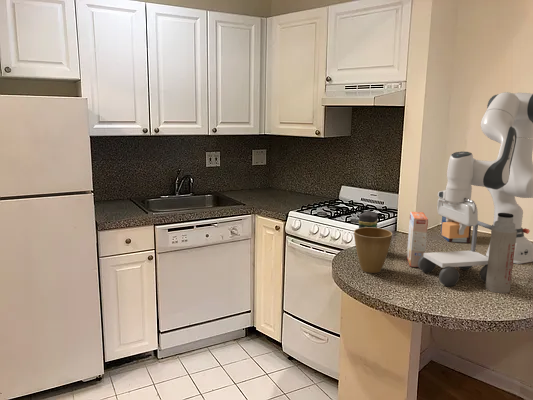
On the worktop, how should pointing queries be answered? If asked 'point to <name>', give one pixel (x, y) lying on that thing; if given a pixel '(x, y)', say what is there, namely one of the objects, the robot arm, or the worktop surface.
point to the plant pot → (372, 247)
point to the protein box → (461, 240)
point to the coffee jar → (368, 219)
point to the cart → (456, 261)
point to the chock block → (453, 230)
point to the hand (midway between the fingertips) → (455, 232)
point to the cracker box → (416, 237)
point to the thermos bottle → (501, 254)
